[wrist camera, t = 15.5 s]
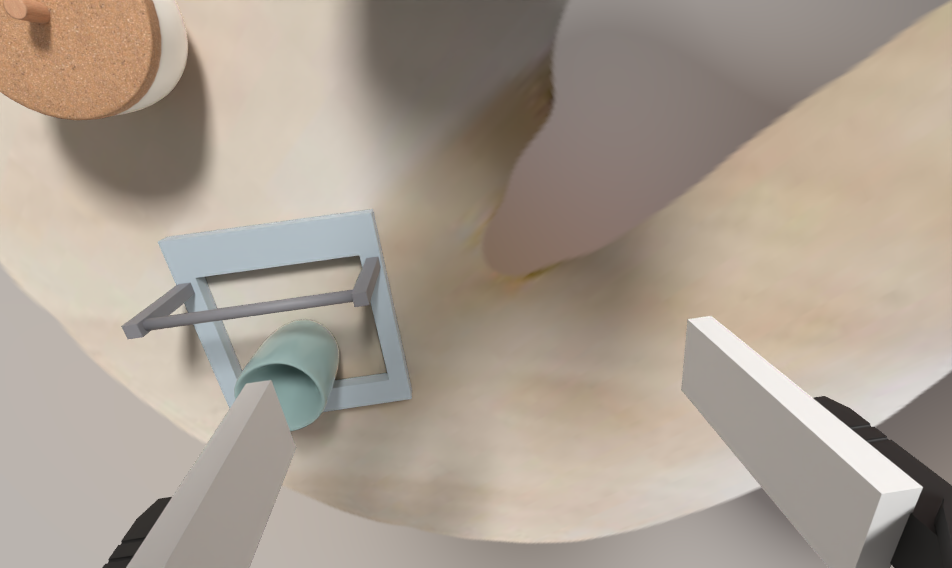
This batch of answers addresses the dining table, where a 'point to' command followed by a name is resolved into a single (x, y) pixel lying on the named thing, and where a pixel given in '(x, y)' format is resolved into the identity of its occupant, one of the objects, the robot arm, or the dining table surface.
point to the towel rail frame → (279, 248)
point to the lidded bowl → (90, 55)
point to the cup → (296, 369)
